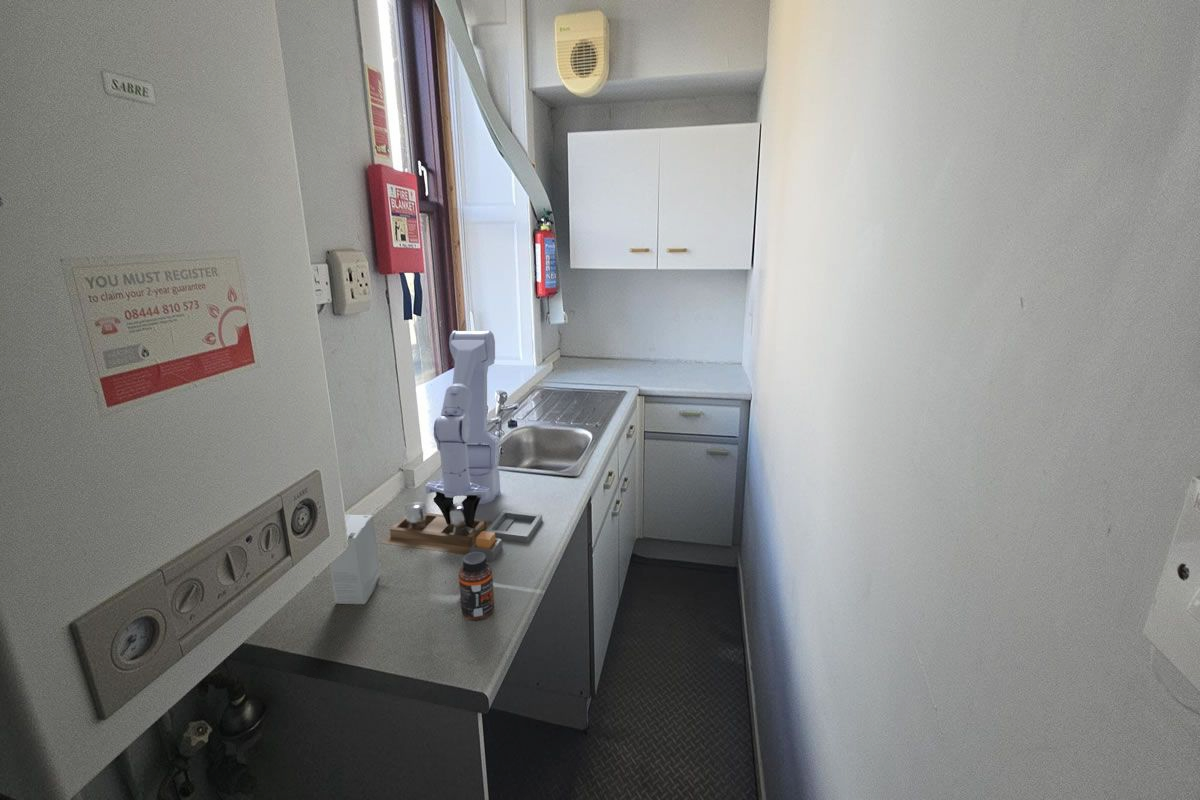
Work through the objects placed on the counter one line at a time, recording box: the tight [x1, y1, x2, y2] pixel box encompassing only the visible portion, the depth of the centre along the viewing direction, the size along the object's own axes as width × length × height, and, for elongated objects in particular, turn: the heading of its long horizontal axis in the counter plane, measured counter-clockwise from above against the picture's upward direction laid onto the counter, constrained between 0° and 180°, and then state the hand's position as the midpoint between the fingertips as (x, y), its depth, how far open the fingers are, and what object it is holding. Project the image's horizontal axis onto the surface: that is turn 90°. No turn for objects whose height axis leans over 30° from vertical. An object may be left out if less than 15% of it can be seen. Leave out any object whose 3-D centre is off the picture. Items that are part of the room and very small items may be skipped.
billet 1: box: [404, 501, 427, 530], centre depth 126 cm, size 4×4×6 cm
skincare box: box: [328, 514, 381, 605], centre depth 104 cm, size 8×6×15 cm
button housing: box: [470, 537, 503, 563], centre depth 118 cm, size 5×5×3 cm
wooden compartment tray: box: [380, 512, 494, 556], centre depth 125 cm, size 14×21×3 cm, turn 77°
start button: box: [476, 531, 496, 549], centre depth 117 cm, size 3×3×3 cm
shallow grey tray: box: [486, 509, 543, 544], centre depth 128 cm, size 10×10×2 cm
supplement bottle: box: [458, 552, 495, 621], centre depth 99 cm, size 6×6×11 cm
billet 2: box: [449, 501, 471, 536], centre depth 123 cm, size 4×4×6 cm
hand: (460, 523), depth 123 cm, fingers closed on billet 2, 4 cm apart
